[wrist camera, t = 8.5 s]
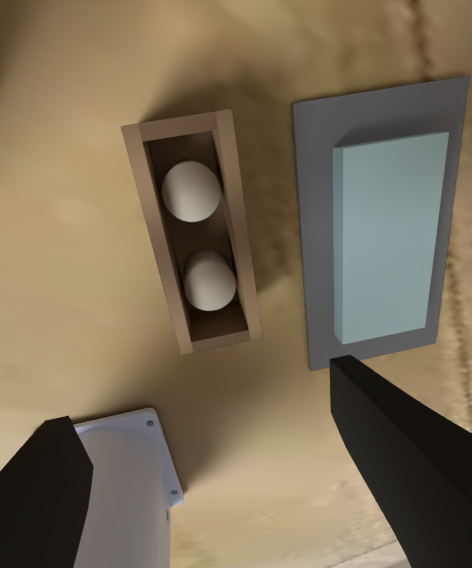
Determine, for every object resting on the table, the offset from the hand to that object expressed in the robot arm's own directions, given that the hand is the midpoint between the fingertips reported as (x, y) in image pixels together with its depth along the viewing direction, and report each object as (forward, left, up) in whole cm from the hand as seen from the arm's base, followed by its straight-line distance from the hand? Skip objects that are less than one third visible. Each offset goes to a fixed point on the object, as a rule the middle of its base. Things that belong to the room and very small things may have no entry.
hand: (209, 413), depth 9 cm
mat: (0, -11, -10) cm, 15 cm away
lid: (0, -11, -10) cm, 15 cm away
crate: (+3, -1, -10) cm, 11 cm away
